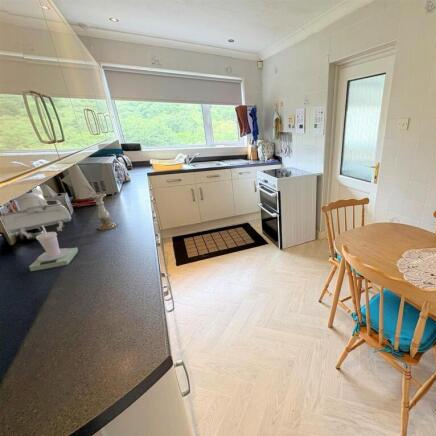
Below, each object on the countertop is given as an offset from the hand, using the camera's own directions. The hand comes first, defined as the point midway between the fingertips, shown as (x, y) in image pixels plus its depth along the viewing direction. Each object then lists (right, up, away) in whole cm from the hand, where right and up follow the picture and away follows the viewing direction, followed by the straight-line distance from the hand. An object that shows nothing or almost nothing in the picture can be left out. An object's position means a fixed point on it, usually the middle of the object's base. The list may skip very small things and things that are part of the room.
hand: (45, 234), depth 102 cm
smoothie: (+2, -9, +2) cm, 10 cm away
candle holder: (-2, +1, +37) cm, 37 cm away
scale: (+2, -12, +2) cm, 13 cm away
